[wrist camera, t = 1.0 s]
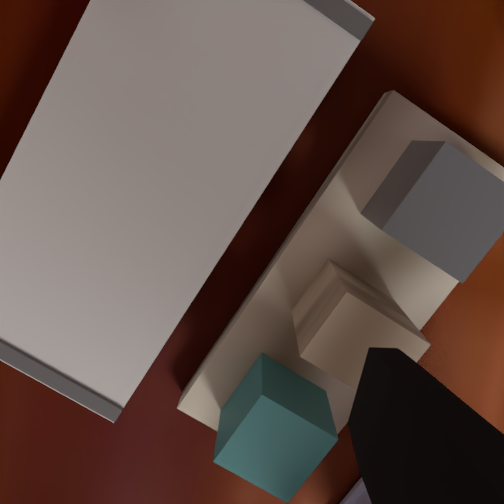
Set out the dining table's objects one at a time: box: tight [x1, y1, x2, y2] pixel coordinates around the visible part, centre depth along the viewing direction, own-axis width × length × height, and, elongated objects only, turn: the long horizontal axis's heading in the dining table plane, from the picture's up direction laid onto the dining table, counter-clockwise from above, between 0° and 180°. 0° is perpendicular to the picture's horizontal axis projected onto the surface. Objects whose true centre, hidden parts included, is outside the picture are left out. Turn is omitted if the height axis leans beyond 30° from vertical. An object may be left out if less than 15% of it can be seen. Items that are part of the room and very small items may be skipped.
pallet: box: [177, 90, 504, 435], centre depth 22 cm, size 8×19×7 cm, turn 147°
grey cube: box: [360, 140, 504, 284], centre depth 20 cm, size 4×4×4 cm
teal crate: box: [213, 353, 338, 503], centre depth 23 cm, size 4×4×4 cm
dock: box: [0, 0, 375, 423], centre depth 22 cm, size 10×22×3 cm, turn 147°
